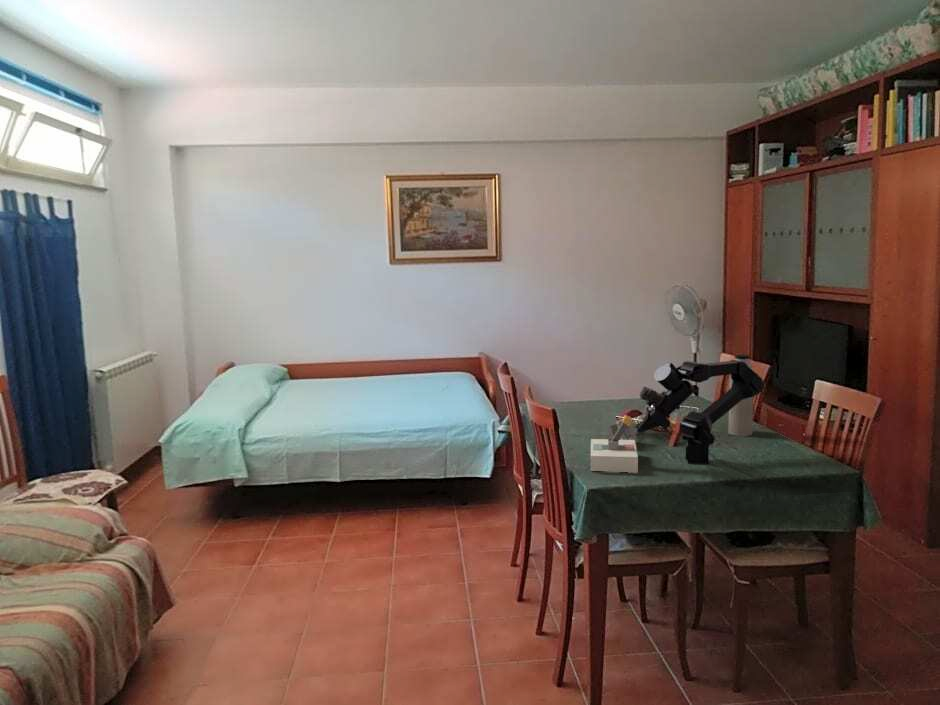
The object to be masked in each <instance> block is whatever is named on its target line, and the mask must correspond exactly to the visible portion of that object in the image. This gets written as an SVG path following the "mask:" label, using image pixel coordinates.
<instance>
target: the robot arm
mask: <svg viewBox="0 0 940 705" xmlns="http://www.w3.org/2000/svg"><path fill="white" fill-rule="evenodd" d="M675 366H676V365H674V364H673V363H672V362H669V361H667V362H665V364H663V365H661V366H660V367H658V368H657V369H656V370H655V372H654V374H653V377H654V380H655V381H657V382H658V383H659V384H660V385H661V386H662V387H664V389H665V390H666V391H665V390H663V391H662V392H661V393H660V392H658V391H657V390H653V389H651V388H649V387H647V386H643V388H642V389H641V392H640V394H639V398H640V399H641V400H643V401H645V404H646V405H648V406H649V407H647V406H646V407H645V416H644V417H643V419H642V421H641V422H640V424H639V425H638V427H637V428H636V432H637V433H639V434H641V433H643V432H645V431H648V430H651V429H655V428H659V427H662V429H664V430H665V431H666V430H668V428H670V426H671V420H670V417H671V415H672V413H673V412H675V411H676V410H679V409H680V408H681V405H682V404H684V402H686V400H687V399H689V398H690V397H691V396H692V395H694V396H695V397H699V395H700V394H699V391H700V388H699V387H698V385H697V384H692V383H691V382H694V383H702V382H705V381H708V380H709V379H710V378H712V377H719V376H720V377H721V376H728V375H729V376H730V374H731V379H732V380H733V382H732V387H731V389H730V388H729V390H727V391H726V392H725V393H724V394H722V395H721V396H720V397H719V398H717V399H716V400H715V401H713V403H711V404H710V405H708V406H707V407H706V408H705V409H704V410H703V411H701V412H698V411H695V410H692V411H689V413H687V415H686V416H683V417H682V418H683V419H682V420H681V421H680V422H679V432H680V434H681V438H682V440H683V441H686V444H685V445H684V458H685V460H686V462H687V464H695V465H696V464H700V465H701V464H702V465H708V464H709V465H710V459H709V458H710V457H709V454H710V453H709V452H710V448H709V447H710V446H711V445H713V444H714V442H715V439H716V437H715V436H714V435H713V434H712V433H711V431H712V427H713V425H714V423H716V422H717V421H719V419H721V418H722V417H723V416H725V414H728V413H729V410H730V409H732V408H733V407H734V406H735V405H737V404H738V403H739V402H740V401H741V400H743V399H747V398H751V397H755V396H757V395H759V394H760V393H762V391H763V389H764V386H765V383H764V380H763V379H762V377H760V376H759V375H758V374H757V373H756V372H755V371H754V370H753V369H752V370H751V369H750V368H749V367H748V366H747V364H746V363H744V362H743V361H737V360H735V359H731V360H727V361H717V362H716V361H715V362H709V363H703V362H702V363H701V362H695V361H688V360H687V361H684V362H682V365H680V366H677V367H675Z"/></svg>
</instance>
